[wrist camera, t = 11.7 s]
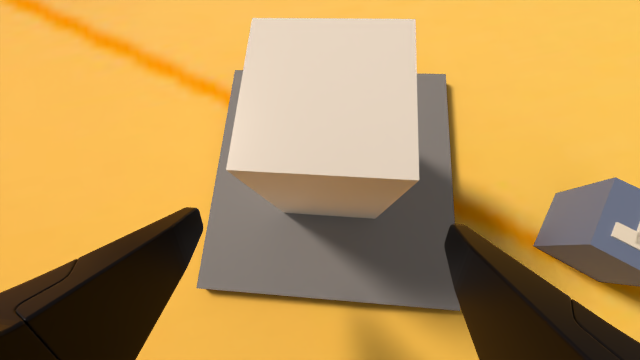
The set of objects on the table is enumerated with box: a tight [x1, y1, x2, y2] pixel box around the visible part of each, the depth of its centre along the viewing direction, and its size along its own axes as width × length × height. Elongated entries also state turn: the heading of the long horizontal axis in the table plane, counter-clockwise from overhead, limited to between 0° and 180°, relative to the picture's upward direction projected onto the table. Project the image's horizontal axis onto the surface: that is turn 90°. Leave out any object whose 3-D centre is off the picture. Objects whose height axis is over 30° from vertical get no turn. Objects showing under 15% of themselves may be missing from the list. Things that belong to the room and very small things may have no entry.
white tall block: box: [226, 18, 419, 219], centre depth 14 cm, size 6×6×10 cm
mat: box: [197, 70, 460, 311], centre depth 18 cm, size 16×16×1 cm
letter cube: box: [534, 178, 640, 286], centre depth 15 cm, size 4×4×4 cm
